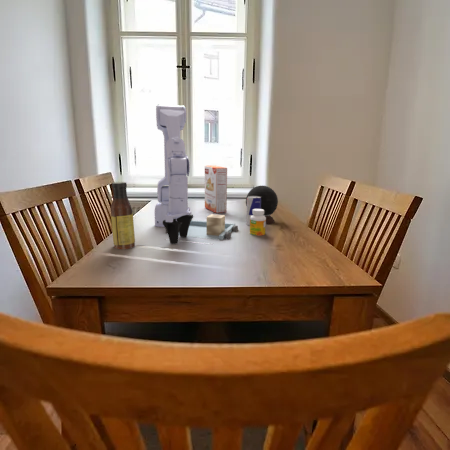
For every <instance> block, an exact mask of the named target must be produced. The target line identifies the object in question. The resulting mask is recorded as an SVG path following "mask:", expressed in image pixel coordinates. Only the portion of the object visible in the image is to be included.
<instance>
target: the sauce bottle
mask: <svg viewBox="0 0 450 450" xmlns="http://www.w3.org/2000/svg"><path fill="white" fill-rule="evenodd" d="M111 187H112V191H113V196H112V197H113V198H112V202H111V204H110V217H111V218H110V220H111V228H112V229H111V231H112V240H113V246H114V247H113V248H115V249H118V250H128V249H133V248H135V245H136V243H135V242H136V239H135V238H136V237H135V236H136V235H135V224H134V213H133V212H134V211H133V208H132V206H131V202H130V200H129V198H128V193H127V187H128V186H127V182H126V181H115V182H112V183H111Z"/></svg>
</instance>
